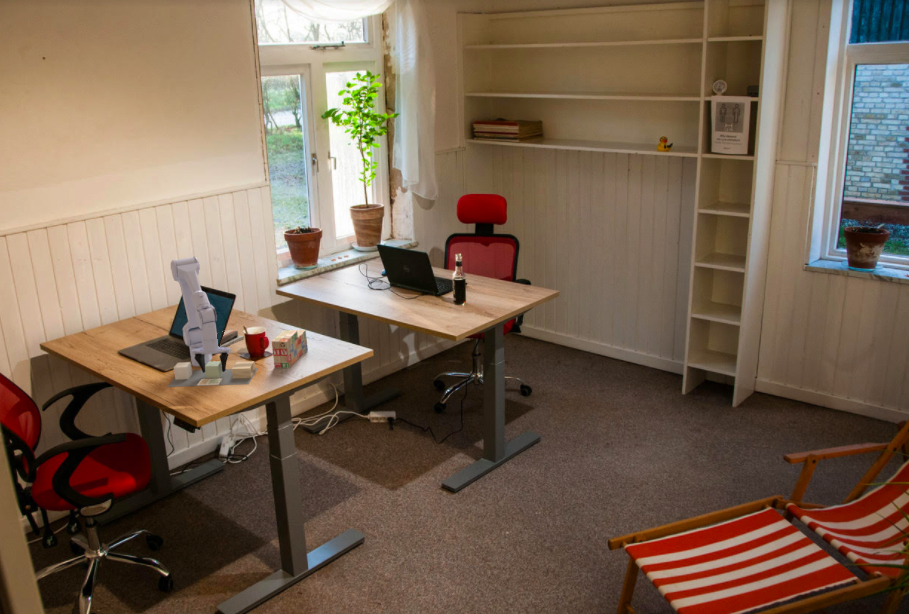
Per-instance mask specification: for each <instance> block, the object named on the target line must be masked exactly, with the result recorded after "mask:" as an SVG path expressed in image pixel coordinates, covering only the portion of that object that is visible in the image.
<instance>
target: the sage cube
mask: <svg viewBox="0 0 909 614" xmlns="http://www.w3.org/2000/svg"><path fill="white" fill-rule="evenodd" d="M205 371H206V378H220V377H221V375H222V374H223V372H222V364H221V360H214V361H212V360H211V361H210V362H208V363H207V364H206V365H205Z"/></svg>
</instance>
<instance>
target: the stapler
mask: <svg viewBox="0 0 909 614" xmlns="http://www.w3.org/2000/svg"><path fill="white" fill-rule="evenodd" d="M224 331H225V332H224V335H223V338H222V341H221V345H220V347H227V348H228V347H229V346H231V345H233V344H235V343H238V342H240V341H241V340H244V339H245V335H239V332H238V331H239V330H237V329H234V328H233V329H226V330H224Z"/></svg>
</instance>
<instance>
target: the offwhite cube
mask: <svg viewBox="0 0 909 614" xmlns="http://www.w3.org/2000/svg"><path fill="white" fill-rule="evenodd" d="M192 370H193V368H192V361H191V362H189V361H186V362H185V361H184V362H177V363H176V364H175V365H174V366H173V372H174V378H175V380H177V379H189V378H190V376H191V375H192Z"/></svg>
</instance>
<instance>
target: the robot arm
mask: <svg viewBox="0 0 909 614" xmlns="http://www.w3.org/2000/svg"><path fill="white" fill-rule="evenodd" d="M200 267H201V266H200V261H199V259H198V257H196V256H193V257H186V258H185V257H184V258H180V259H171V261H170V270H171V273H172V274H171V275H172V278H173V281H176V282H178V285H179V287H180V292H181V295H182V300H183V303H184V308H185V312H186V317H187V322H186V323H185V324H184V326H183V327H182V337H183V341H184V343H185V346H187V347H189V353H190V359H191V366H193V367H200V370H202V372H203V373H205V366H206V364H207V363H208V362H210V361H212V359H213V355H219V361H221V364H222V372H225V370H226V369H227V368H226V367H227V362H228V358H229V355H230V354H231V353H232V348H231V347H228V346H227V347H219V346H218V339H217V334H218V332H217V325H216V322H217V320H218V319H217V318H218V316H217V312H216V308H215V307H214V305H213V304H211V303H210V301H209V298H208V295H207V293H206V292H205V291H203V290H202V286H201V284H200V280H199V277H198V275H199V274H200Z"/></svg>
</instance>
